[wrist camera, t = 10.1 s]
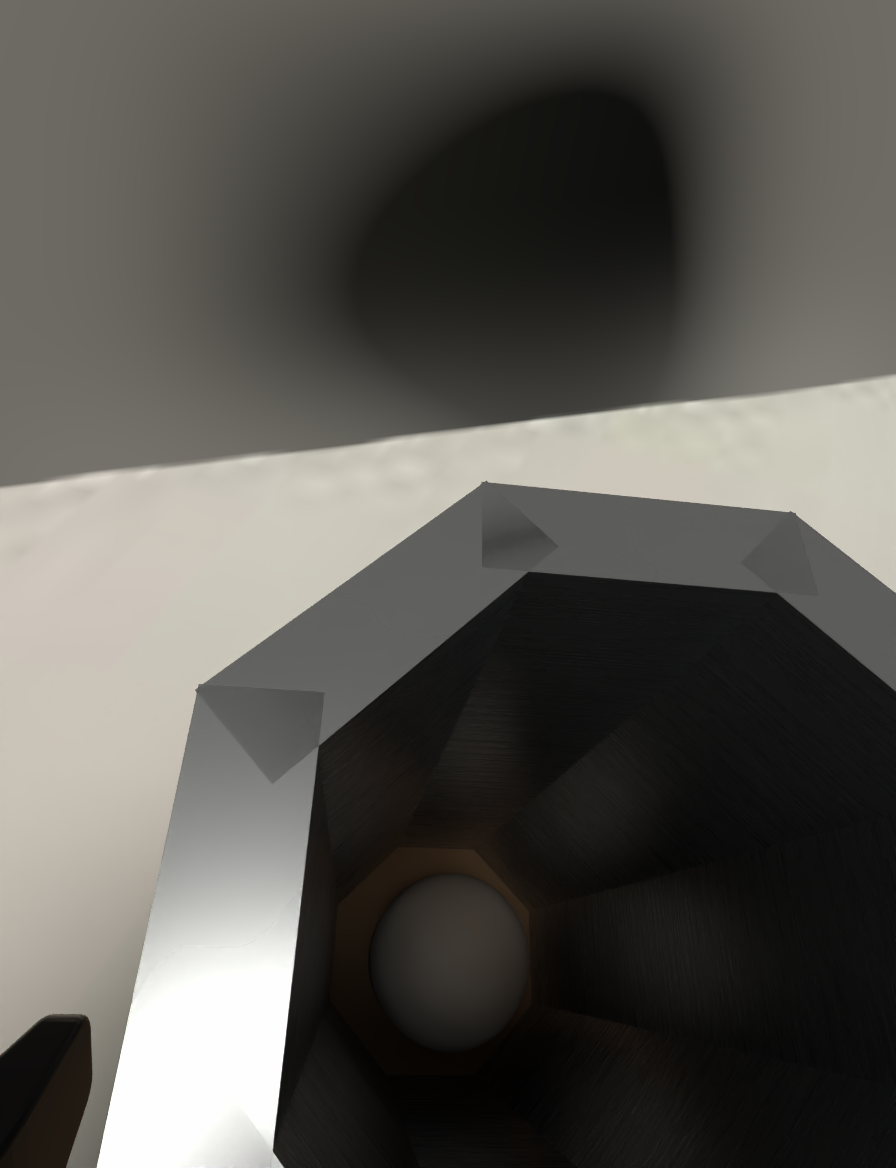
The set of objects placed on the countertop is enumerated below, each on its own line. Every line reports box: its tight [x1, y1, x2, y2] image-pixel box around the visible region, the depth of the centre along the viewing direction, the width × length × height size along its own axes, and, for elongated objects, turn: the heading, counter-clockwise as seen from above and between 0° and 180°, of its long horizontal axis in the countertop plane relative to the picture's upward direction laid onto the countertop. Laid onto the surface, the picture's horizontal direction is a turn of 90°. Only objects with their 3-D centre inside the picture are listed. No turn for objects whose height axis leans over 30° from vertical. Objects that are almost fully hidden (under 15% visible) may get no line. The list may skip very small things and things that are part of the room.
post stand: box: [330, 847, 532, 1075], centre depth 13 cm, size 11×11×5 cm
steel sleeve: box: [97, 481, 896, 1168], centre depth 9 cm, size 6×6×12 cm
